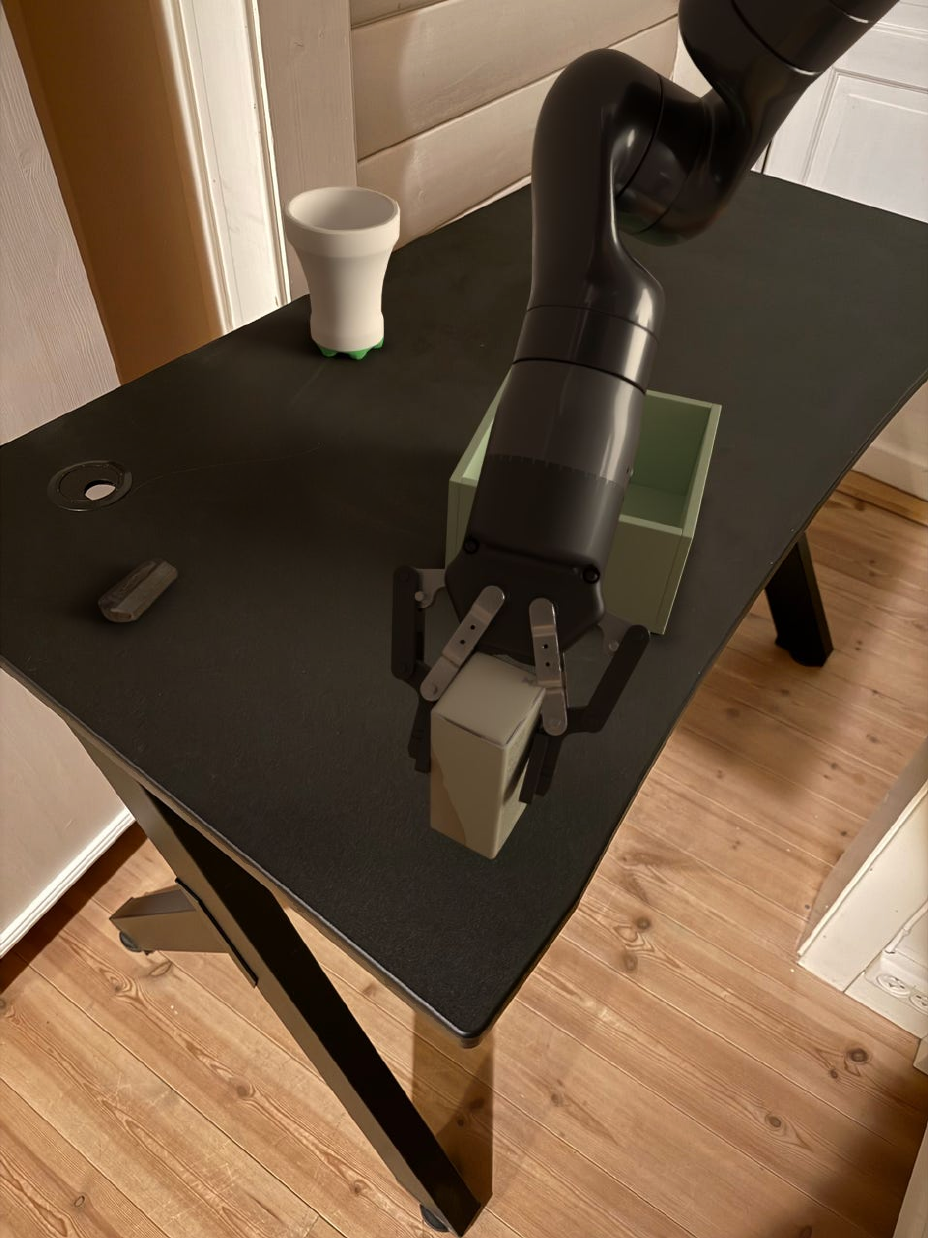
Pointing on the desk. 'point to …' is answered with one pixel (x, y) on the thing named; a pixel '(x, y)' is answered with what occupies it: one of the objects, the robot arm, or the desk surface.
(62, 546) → the desk surface
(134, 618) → the block
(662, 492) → the bin
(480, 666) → the box
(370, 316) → the cup
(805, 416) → the desk surface
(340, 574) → the desk surface
